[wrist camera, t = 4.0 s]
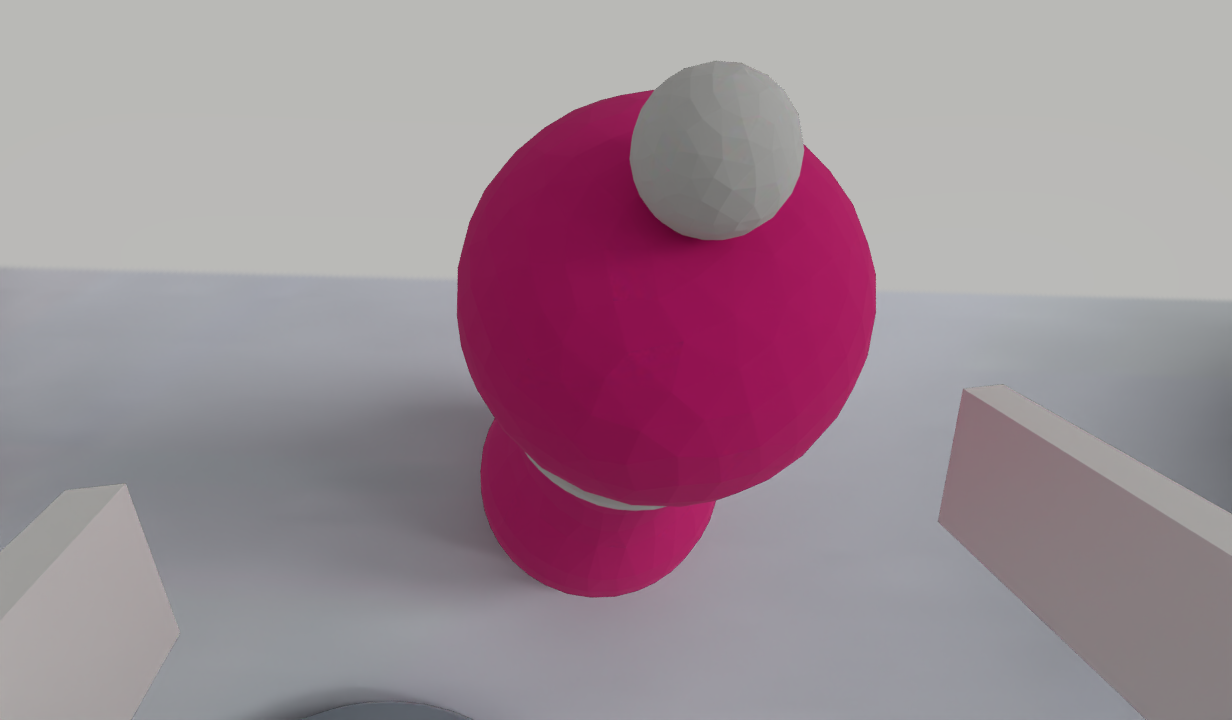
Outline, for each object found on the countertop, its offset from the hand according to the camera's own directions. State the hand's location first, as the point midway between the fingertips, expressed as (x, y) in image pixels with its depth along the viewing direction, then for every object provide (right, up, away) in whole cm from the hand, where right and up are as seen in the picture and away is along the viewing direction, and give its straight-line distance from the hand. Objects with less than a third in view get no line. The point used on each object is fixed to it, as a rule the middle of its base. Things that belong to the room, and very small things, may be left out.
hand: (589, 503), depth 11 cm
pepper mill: (-1, -3, +14) cm, 14 cm away
